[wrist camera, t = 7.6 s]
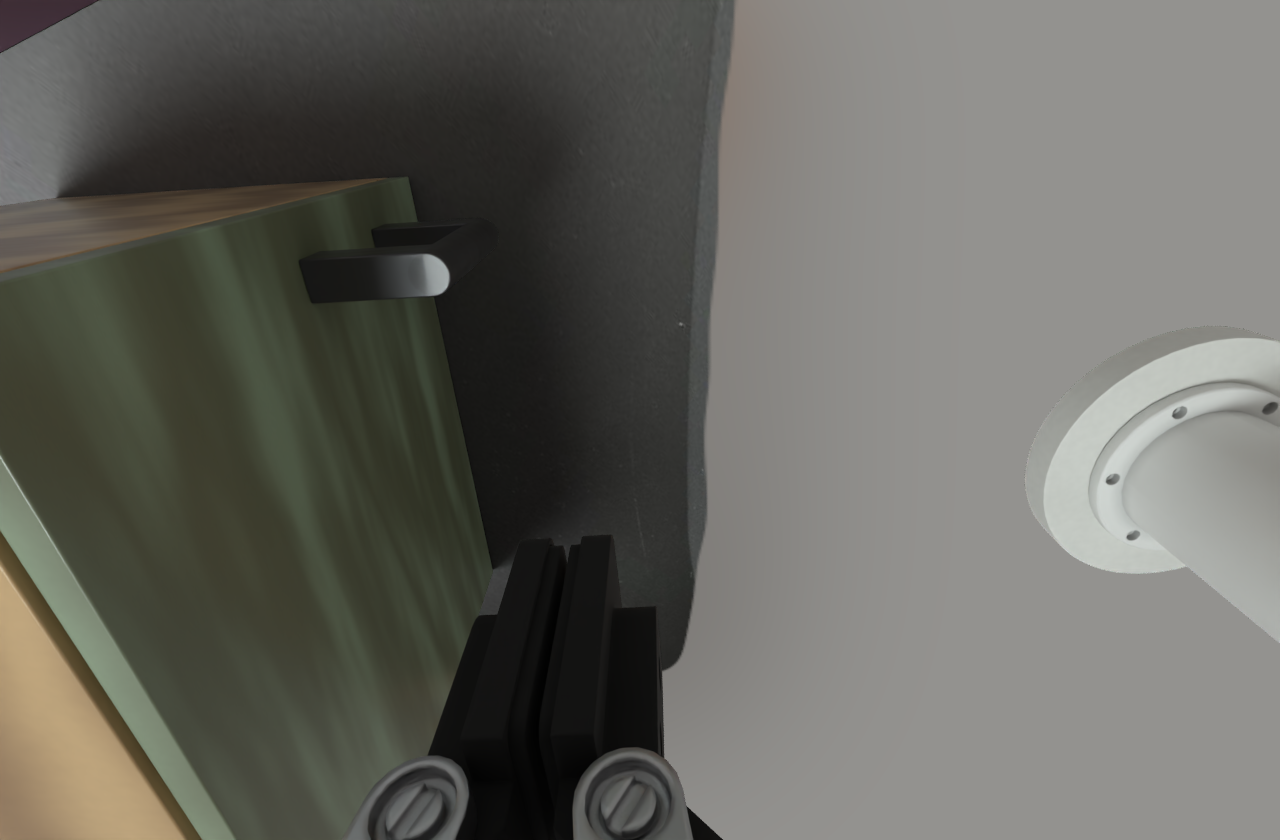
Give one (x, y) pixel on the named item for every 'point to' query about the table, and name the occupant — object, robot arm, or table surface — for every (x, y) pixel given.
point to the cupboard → (22, 619)
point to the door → (253, 494)
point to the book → (32, 17)
